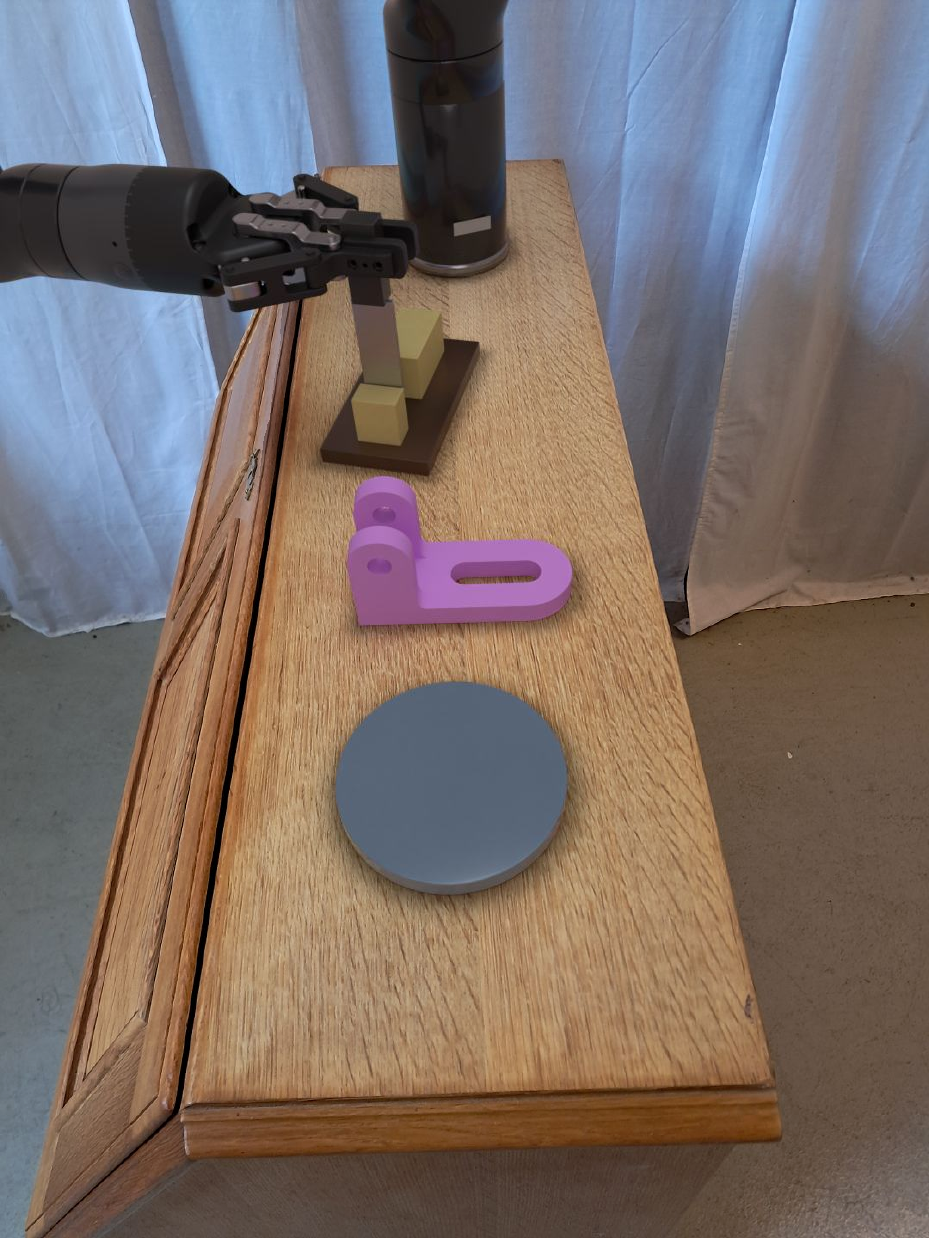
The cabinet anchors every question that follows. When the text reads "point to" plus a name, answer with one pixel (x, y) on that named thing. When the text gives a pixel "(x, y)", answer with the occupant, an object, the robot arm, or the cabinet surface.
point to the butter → (419, 347)
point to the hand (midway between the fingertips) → (410, 250)
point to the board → (409, 419)
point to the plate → (451, 787)
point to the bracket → (443, 568)
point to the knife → (373, 310)
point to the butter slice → (380, 414)
